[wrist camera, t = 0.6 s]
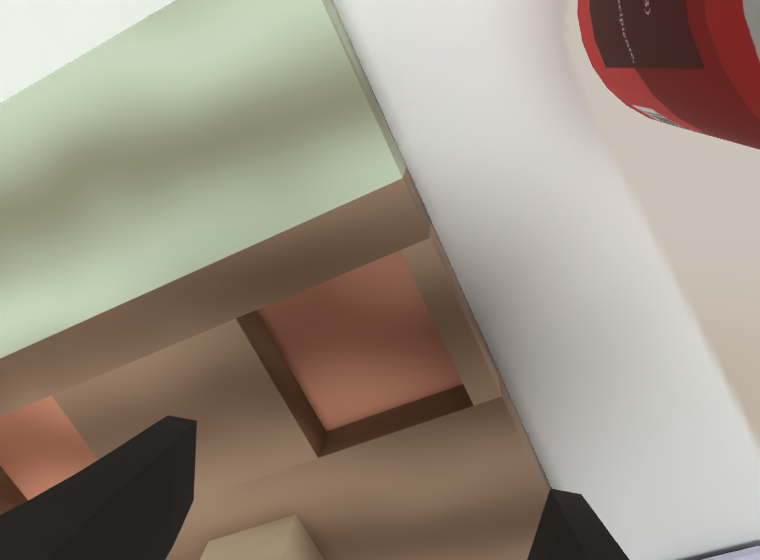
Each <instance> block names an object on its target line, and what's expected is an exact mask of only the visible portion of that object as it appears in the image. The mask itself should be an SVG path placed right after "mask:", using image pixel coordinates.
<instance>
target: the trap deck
mask: <svg viewBox="0 0 760 560" xmlns="http://www.w3.org/2000/svg"><path fill="white" fill-rule="evenodd" d="M168 415H170V416H175V417H180V418H185V419H191V420H196V421H197V431H196V456H195V481H194V500H193V503H192V505H191V507H190V510H189V512H188V514H187V516H186V519H185V521H184V523H183V526H182V528H181V530H180V532H179V534H178V536H177V539H176V541H175V543H174V545H173V547H172V549H171V551H170V552H169V554H168V556H167V557H166V559H165V560H200V558H201V556H202V554H203V552H204V550H205V548H206V546H207V544H208V542H209V541H212V540H215V539H218V538H221V537H225V536H228V535H231V534H234V533H237V532H241V531H244V530H247V529H250V528H253V527H257V526H260V525H263V524H266V523H269V522H273V521H276V520H279V519H282V518H285V517H289V516H292V515H295V514H296V515H297V517H298V518H299V520H300V522H301V523H302V525H303V526H304V528H305V530H306V531H307V533H308V534H309V536H310V538H311V539H312V541H313V542H314V544H315V546H316V547H317V549H318V550H319V552H320V554H321V555H322V557H323V558H324V560H527V559H528V556H529V553H530V550H531V547H532V543H533V540H534V537H535V534H536V531H537V528H538V525H539V522H540V519H541V516H542V513H543V509H544V506H545V503H546V500H547V497H548V494H549V491H550V489H551V487H550V485H549V482H548V480H547V478H546V476H545V473H544V471H543V469H542V467H541V465H540V462H539V460H538V458H537V456H536V453H535V451H534V449H533V447H532V445H531V442H530V440H529V438H528V436H527V433H526V431H525V429H524V427H523V425H522V422H521V420H520V418H519V416H518V413H517V411H516V409H515V407H514V405H513V402H512V400H511V398H510V396H509V393H508V391H507V389H506V387H505V384H504V382H503V380H502V378H501V376H500V373H499V371H498V369H497V367H496V364H495V362H494V360H493V358H492V356H491V353H490V351H489V349H488V347H487V344H486V342H485V340H484V338H483V336H482V333H481V331H480V329H479V327H478V324H477V322H476V320H475V318H474V316H473V313H472V311H471V309H470V307H469V304H468V302H467V300H466V298H465V296H464V293H463V291H462V289H461V287H460V284H459V282H458V280H457V278H456V275H455V273H454V271H453V269H452V267H451V264H450V262H449V260H448V258H447V255H446V253H445V251H444V249H443V247H442V244H441V242H440V240H439V238H438V235H437V233H436V231H435V229H434V227H433V224H432V222H431V220H430V218H429V215H428V213H427V211H426V209H425V207H424V204H423V202H422V200H421V198H420V195H419V193H418V191H417V189H416V187H415V184H414V182H413V180H412V178H411V175H410V173H409V171H408V169H407V166H406V164H405V162H404V160H403V158H402V155H401V153H400V151H399V149H398V146H397V144H396V142H395V140H394V138H393V135H392V133H391V131H390V129H389V126H388V124H387V122H386V120H385V118H384V115H383V113H382V111H381V109H380V106H379V104H378V102H377V100H376V98H375V95H374V93H373V91H372V89H371V86H370V84H369V82H368V80H367V78H366V75H365V73H364V71H363V69H362V66H361V64H360V62H359V60H358V57H357V55H356V53H355V51H354V49H353V46H352V44H351V42H350V40H349V37H348V35H347V33H346V31H345V29H344V26H343V24H342V22H341V20H340V17H339V15H338V13H337V11H336V9H335V6H334V4H333V2H332V0H176V1H174V2H172V3H171V4H169V5H167V6H165V7H164V8H162V9H160V10H159V11H157V12H155V13H154V14H152V15H150V16H148V17H147V18H145V19H143V20H142V21H140V22H138V23H137V24H135V25H133V26H131V27H130V28H128V29H126V30H125V31H123V32H121V33H120V34H118V35H116V36H114V37H113V38H111V39H109V40H108V41H106V42H104V43H103V44H101V45H99V46H97V47H96V48H94V49H92V50H91V51H89V52H87V53H86V54H84V55H82V56H80V57H79V58H77V59H75V60H74V61H72V62H70V63H68V64H67V65H65V66H63V67H62V68H60V69H58V70H57V71H55V72H53V73H51V74H50V75H48V76H46V77H45V78H43V79H41V80H40V81H38V82H36V83H34V84H33V85H31V86H29V87H28V88H26V89H24V90H23V91H21V92H19V93H17V94H16V95H14V96H12V97H11V98H9V99H7V100H6V101H4V102H2V103H0V515H1V514H3V513H5V512H7V511H9V510H11V509H13V508H15V507H17V506H19V505H21V504H22V503H24V502H26V501H28V500H30V499H32V498H34V497H35V496H37V495H39V494H41V493H42V492H44V491H46V490H48V489H49V488H51V487H53V486H55V485H56V484H58V483H60V482H62V481H64V480H65V479H67V478H69V477H71V476H72V475H74V474H76V473H78V472H79V471H81V470H82V469H84V468H86V467H87V466H89V465H91V464H92V463H94V462H95V461H97V460H99V459H100V458H102V457H103V456H105V455H107V454H108V453H110V452H111V451H113V450H114V449H116V448H118V447H119V446H121V445H122V444H124V443H125V442H127V441H128V440H130V439H132V438H133V437H135V436H136V435H138V434H139V433H141V432H142V431H144V430H145V429H147V428H149V427H150V426H152V425H153V424H155V423H156V422H158V421H159V420H161V419H163V418H164V417H166V416H168Z"/></svg>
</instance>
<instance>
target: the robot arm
mask: <svg viewBox="0 0 760 560" xmlns="http://www.w3.org/2000/svg"><path fill="white" fill-rule="evenodd" d="M196 431H197V421H196V420H191V419H185V418H180V417H175V416H170V415H168V416H166V417H164V418H163V419H161V420H159V421H158V422H156V423H155V424H153V425H152V426H150V427H149V428H147V429H145V430H144V431H142V432H141V433H139V434H138V435H136V436H135V437H133V438H132V439H130V440H128V441H127V442H125V443H124V444H122V445H121V446H119V447H118V448H116V449H114V450H113V451H111V452H110V453H108V454H107V455H105V456H103V457H102V458H100V459H99V460H97V461H95V462H94V463H92V464H91V465H89V466H87V467H86V468H84V469H82V470H81V471H79V472H78V473H76V474H74V475H72V476H71V477H69V478H67V479H65V480H64V481H62V482H60V483H58V484H56V485H55V486H53V487H51V488H49V489H48V490H46V491H44V492H42V493H41V494H39V495H37V496H35V497H34V498H32V499H30V500H28V501H26V502H24V503H22V504H21V505H19V506H17V507H15V508H13V509H11V510H9V511H7V512H5V513H3V514H1V515H0V560H165V559H166V557H167V556H168V554H169V552H170V551H171V549H172V547H173V545H174V543H175V541H176V539H177V536H178V534H179V532H180V530H181V528H182V526H183V523H184V521H185V519H186V516H187V514H188V512H189V510H190V507H191V505H192V503H193V500H194V481H195V456H196ZM527 560H629V558H628V557H627V556H626V554H625V553H624V552H623V550H622V549H621V548H620V546H619V545H618V544H617V542H616V541H615V540H614V538H613V537H612V536H611V534H610V533H609V531H608V530H607V529H606V527H605V526H604V525H603V523H602V522H601V520H600V519H599V518H598V516H597V515H596V514H595V512H594V511H593V510H592V508H591V507H590V505H589V504H588V503H587V501H586V500H585V499H584V498H583V496H582V495H581V494H576V493H571V492H566V491H561V490H555V489H550V491H549V494H548V497H547V500H546V503H545V506H544V509H543V513H542V516H541V519H540V522H539V525H538V528H537V531H536V534H535V537H534V540H533V543H532V547H531V550H530V553H529V556H528V559H527ZM702 560H760V545H759V546H755V547H751V548H747V549H743V550H739V551H734V552H730V553H726V554H722V555H718V556H714V557H710V558H706V559H702Z"/></svg>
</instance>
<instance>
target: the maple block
mask: <svg viewBox="0 0 760 560" xmlns="http://www.w3.org/2000/svg"><path fill="white" fill-rule="evenodd" d="M200 560H324V558H323V557H322V555H321V554H320V552H319V550H318V549H317V547H316V546H315V544H314V542H313V541H312V539H311V538H310V536H309V534H308V533H307V531H306V530H305V528H304V526H303V525H302V523H301V522H300V520H299V518H298V517H297V515H296V514H295V515H292V516H289V517H285V518H282V519H279V520H276V521H273V522H269V523H266V524H263V525H260V526H257V527H253V528H250V529H247V530H244V531H241V532H237V533H234V534H231V535H228V536H225V537H221V538H218V539H215V540H212V541H209V542H208V544H207V546H206V548H205V550H204V552H203V554H202V556H201V558H200Z"/></svg>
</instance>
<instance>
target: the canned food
mask: <svg viewBox="0 0 760 560" xmlns="http://www.w3.org/2000/svg"><path fill="white" fill-rule="evenodd" d="M578 19H579V25H580V30H581V35H582V41H583V44H584V47H585V49H586V52H587V54H588V57H589V59H590V61H591V64H592V66H593V68H594V69H595V71H596V72H597V74H598V75H599V76H600V78H601V79H602V81H603V82H604V84H605V85H606V87H607V88H608V89H609V90H610V91H611V92H612V93H614V94H615V95H616V96H617V97H618V98H619V99H621V101H622V102H624V103H625V104H626V105H627V106H629V107H630V108H632V109H634V110H636V111H638V112H639V113H641V114H643V115H645V116H646V117H648V118H651V119H654V120H657V121H660V122H664V123H667V124H670V125H673V126H677V127H680V128H684V129H688V130H691V131H695V132H698V133H702V134H706V135H709V136H713V137H717V138H720V139H724V140H727V141H732V142H735V143H739V144H742V145H746V146H749V147H753V148H757V149H760V0H578Z"/></svg>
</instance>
